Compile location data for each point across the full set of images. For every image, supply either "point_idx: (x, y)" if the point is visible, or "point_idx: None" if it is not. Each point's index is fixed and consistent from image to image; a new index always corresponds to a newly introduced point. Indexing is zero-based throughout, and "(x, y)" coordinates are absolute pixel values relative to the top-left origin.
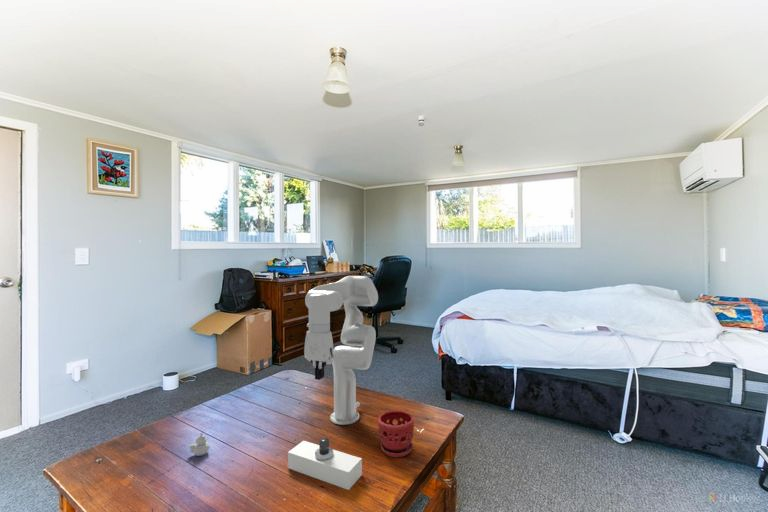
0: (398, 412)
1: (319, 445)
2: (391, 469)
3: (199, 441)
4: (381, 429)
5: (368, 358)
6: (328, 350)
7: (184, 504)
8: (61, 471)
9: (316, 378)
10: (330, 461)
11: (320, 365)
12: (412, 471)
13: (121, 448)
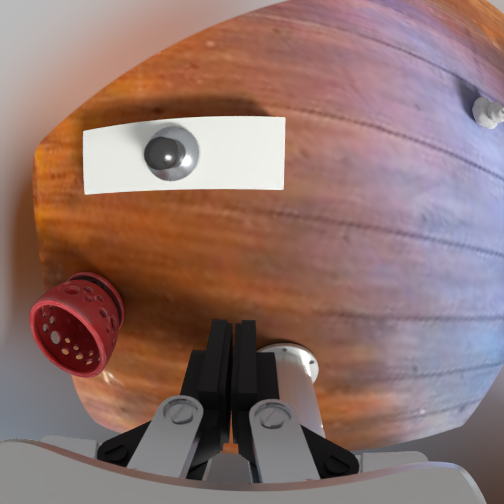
0: (84, 371)
1: (173, 140)
2: (70, 236)
3: (494, 103)
4: (76, 298)
5: None
6: None
7: None
8: None
9: (239, 324)
10: (141, 139)
11: (163, 430)
12: (44, 249)
13: None
